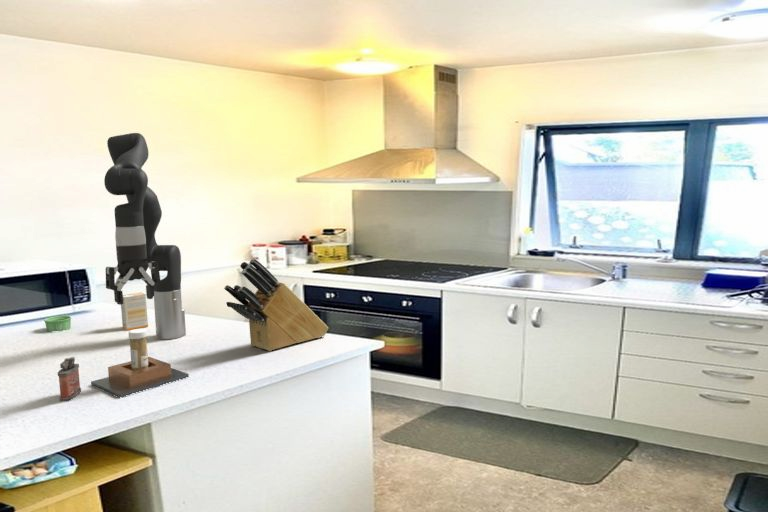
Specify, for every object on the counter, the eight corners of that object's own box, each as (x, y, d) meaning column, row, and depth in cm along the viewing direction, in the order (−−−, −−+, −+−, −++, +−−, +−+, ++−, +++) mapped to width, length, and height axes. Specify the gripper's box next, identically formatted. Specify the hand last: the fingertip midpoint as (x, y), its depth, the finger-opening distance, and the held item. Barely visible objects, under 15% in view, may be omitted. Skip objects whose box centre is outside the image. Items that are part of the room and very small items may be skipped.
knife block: (224, 352, 188) (220, 258, 184) (309, 331, 213) (307, 248, 209) (243, 359, 180) (239, 261, 177) (329, 336, 206) (327, 250, 202)
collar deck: (158, 366, 174) (157, 352, 174) (188, 377, 164) (187, 362, 164) (91, 385, 159) (89, 369, 158) (119, 398, 149) (118, 381, 148)
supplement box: (143, 324, 227) (141, 292, 225) (148, 326, 223) (146, 293, 221) (122, 328, 221) (119, 295, 219) (126, 330, 218) (123, 296, 216)
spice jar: (151, 377, 161) (147, 330, 159) (133, 381, 158) (130, 333, 157) (147, 373, 165) (144, 327, 163) (130, 376, 162) (127, 329, 160)
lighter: (71, 390, 155) (68, 354, 153) (84, 390, 155) (81, 354, 154) (56, 402, 147) (53, 364, 145) (70, 401, 147) (67, 363, 146)
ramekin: (56, 326, 226) (55, 315, 226) (77, 326, 225) (76, 315, 224) (39, 332, 218) (38, 320, 217) (61, 332, 216) (60, 321, 216)
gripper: (148, 239, 164) (152, 295, 166) (98, 244, 153) (102, 304, 155) (162, 241, 160) (166, 298, 162) (111, 246, 149) (116, 307, 151)
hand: (135, 301), depth 159 cm, fingers open, 8 cm apart
